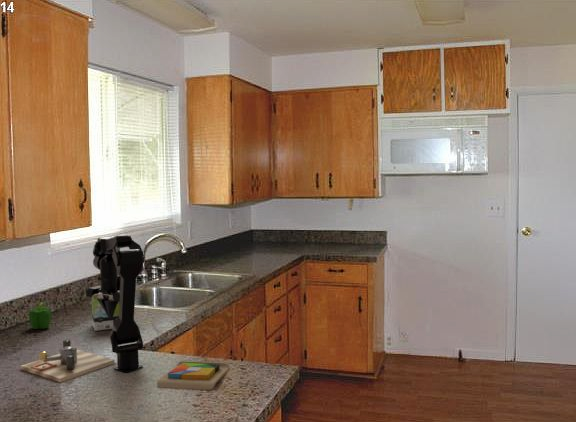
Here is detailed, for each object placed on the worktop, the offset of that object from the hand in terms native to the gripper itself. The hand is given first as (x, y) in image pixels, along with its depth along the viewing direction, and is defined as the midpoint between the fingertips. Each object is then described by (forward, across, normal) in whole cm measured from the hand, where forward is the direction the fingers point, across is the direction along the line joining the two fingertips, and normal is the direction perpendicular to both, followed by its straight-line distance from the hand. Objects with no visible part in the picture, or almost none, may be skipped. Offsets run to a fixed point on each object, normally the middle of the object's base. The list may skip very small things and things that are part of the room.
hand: (110, 318), depth 201 cm
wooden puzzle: (+13, -41, +2) cm, 43 cm away
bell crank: (+10, +2, +20) cm, 22 cm away
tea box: (+12, +27, -22) cm, 37 cm away
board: (+12, 0, +17) cm, 21 cm away
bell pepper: (+12, +50, -5) cm, 52 cm away
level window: (+11, +4, +24) cm, 26 cm away
